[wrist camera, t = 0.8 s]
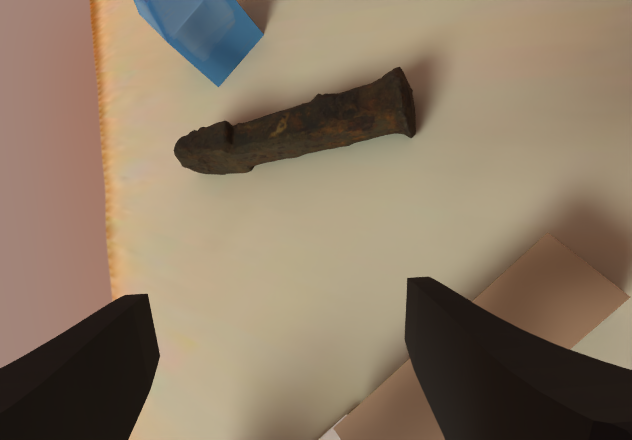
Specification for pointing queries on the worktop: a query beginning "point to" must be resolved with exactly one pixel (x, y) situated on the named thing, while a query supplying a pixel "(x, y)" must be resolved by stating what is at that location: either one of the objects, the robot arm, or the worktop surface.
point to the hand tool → (303, 128)
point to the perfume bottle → (204, 32)
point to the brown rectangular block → (510, 305)
